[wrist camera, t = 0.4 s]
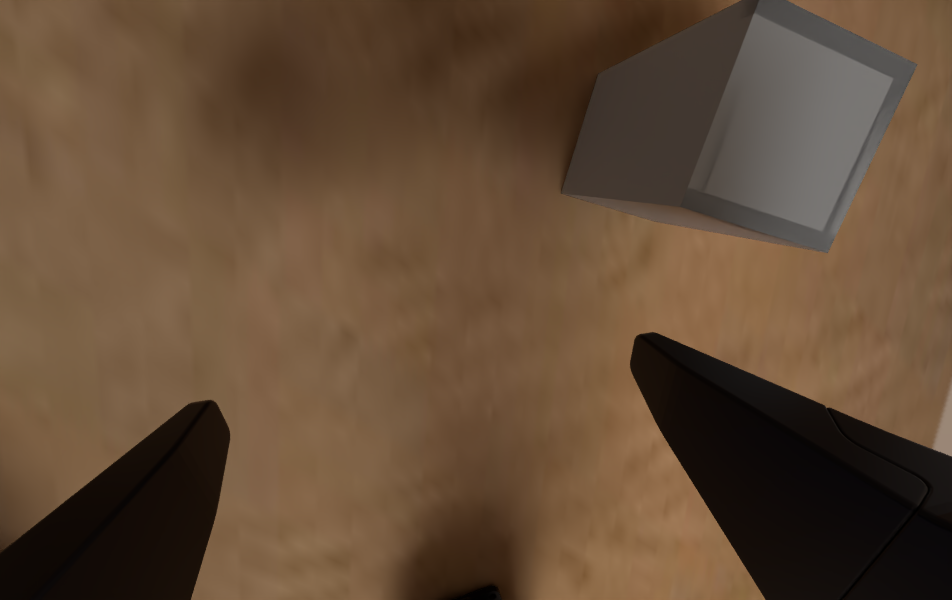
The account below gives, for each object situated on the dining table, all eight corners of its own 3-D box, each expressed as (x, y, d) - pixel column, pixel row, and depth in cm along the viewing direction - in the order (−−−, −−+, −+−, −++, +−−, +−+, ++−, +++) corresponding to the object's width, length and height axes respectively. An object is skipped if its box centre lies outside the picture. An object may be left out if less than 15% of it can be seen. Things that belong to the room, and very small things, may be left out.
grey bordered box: (656, 221, 24) (827, 252, 14) (560, 193, 22) (680, 207, 13) (697, 111, 22) (917, 64, 13) (598, 73, 21) (763, -11, 11)
